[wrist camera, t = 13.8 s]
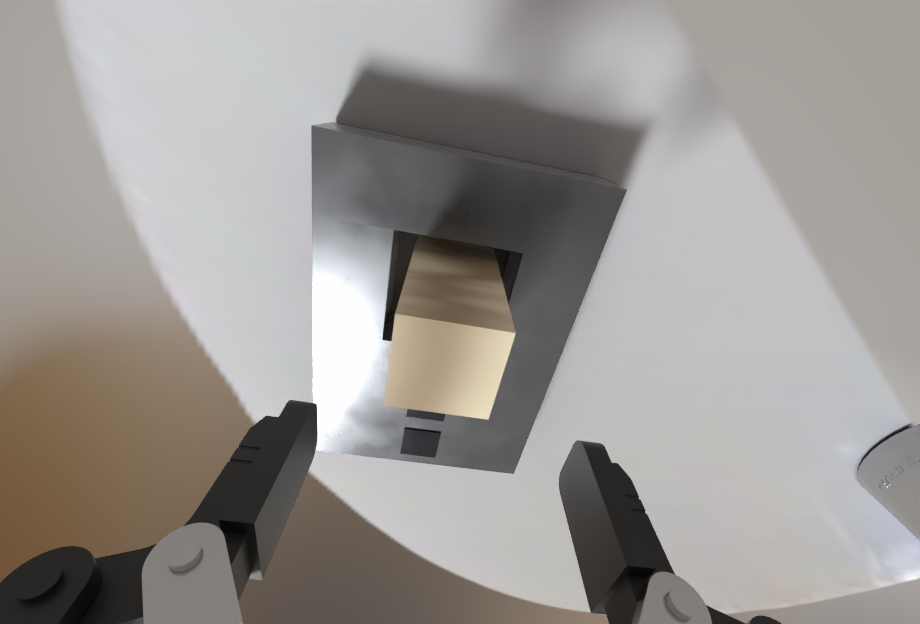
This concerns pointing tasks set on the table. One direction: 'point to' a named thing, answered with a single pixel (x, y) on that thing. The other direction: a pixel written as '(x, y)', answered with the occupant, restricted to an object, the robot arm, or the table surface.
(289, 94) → the table surface
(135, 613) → the robot arm
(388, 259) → the metal socket plate
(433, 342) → the maple block
